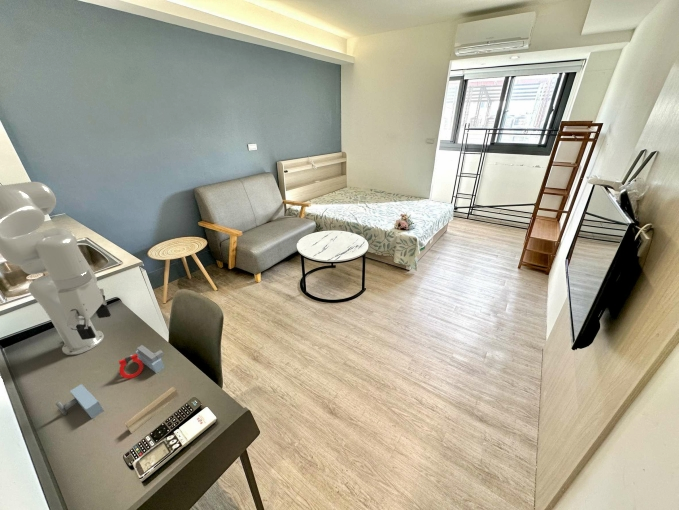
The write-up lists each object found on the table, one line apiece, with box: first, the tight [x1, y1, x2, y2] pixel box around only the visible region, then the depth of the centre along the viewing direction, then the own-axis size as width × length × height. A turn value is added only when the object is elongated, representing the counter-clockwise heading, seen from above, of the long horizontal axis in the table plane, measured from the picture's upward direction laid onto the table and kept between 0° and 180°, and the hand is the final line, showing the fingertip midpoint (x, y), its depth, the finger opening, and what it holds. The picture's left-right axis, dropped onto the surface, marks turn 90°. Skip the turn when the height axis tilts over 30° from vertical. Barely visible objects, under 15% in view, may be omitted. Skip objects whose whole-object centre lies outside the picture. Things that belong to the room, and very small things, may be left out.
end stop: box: [124, 386, 179, 434], centre depth 84 cm, size 2×14×3 cm, turn 149°
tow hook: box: [118, 353, 144, 379], centre depth 99 cm, size 7×10×7 cm
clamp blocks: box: [55, 344, 166, 419], centre depth 91 cm, size 12×28×6 cm, turn 149°
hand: (97, 326), depth 83 cm, fingers open, 9 cm apart
